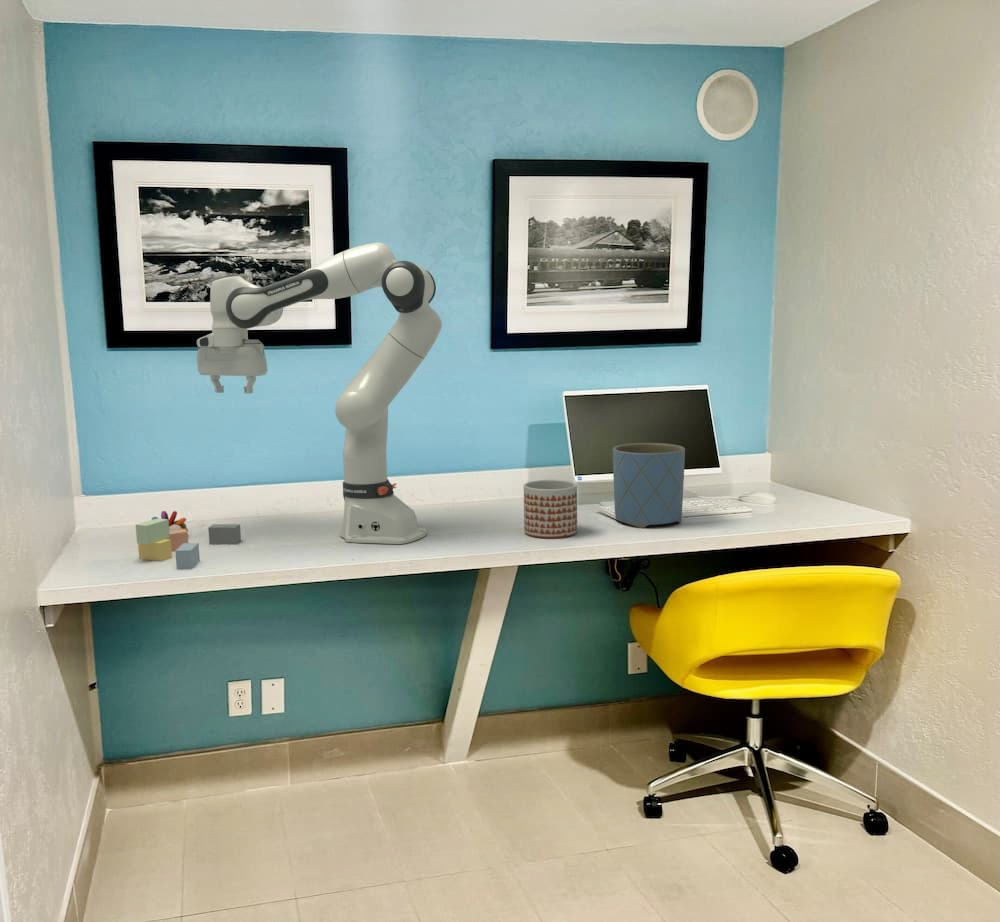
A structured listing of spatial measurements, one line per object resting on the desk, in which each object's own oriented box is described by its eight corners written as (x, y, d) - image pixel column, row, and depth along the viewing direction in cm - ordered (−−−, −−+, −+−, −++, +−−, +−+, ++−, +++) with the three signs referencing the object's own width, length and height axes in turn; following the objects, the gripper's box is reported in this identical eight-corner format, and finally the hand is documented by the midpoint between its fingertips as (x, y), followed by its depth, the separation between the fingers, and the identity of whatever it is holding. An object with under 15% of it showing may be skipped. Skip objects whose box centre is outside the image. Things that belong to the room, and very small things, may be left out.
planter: (636, 532, 245) (637, 455, 242) (599, 518, 263) (599, 446, 259) (698, 524, 253) (699, 449, 250) (658, 510, 270) (658, 440, 267)
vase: (529, 540, 239) (528, 490, 237) (520, 528, 253) (519, 480, 251) (582, 537, 242) (582, 488, 239) (570, 525, 255) (570, 478, 253)
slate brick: (184, 561, 226) (183, 543, 225) (199, 561, 226) (198, 542, 226) (176, 569, 219) (175, 550, 219) (192, 569, 220) (190, 550, 219)
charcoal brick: (241, 541, 245) (240, 524, 244) (236, 544, 241) (235, 527, 241) (214, 541, 245) (213, 524, 245) (209, 544, 242) (208, 527, 241)
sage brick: (158, 536, 233) (157, 518, 232) (169, 537, 231) (168, 519, 230) (137, 543, 226) (135, 524, 226) (148, 544, 225) (146, 525, 224)
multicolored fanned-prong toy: (185, 540, 247) (183, 513, 245) (146, 543, 245) (144, 515, 244) (190, 533, 255) (188, 506, 254) (152, 535, 253) (150, 508, 252)
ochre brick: (172, 557, 230) (170, 539, 229) (161, 561, 227) (160, 543, 226) (150, 555, 233) (148, 537, 232) (139, 558, 230) (137, 540, 229)
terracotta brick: (186, 546, 241) (184, 529, 240) (188, 549, 238) (187, 531, 237) (157, 550, 237) (155, 532, 237) (159, 553, 234) (157, 535, 234)
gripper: (270, 338, 246) (274, 392, 248) (208, 339, 254) (211, 391, 256) (255, 340, 240) (258, 394, 242) (191, 340, 248) (195, 393, 251)
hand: (234, 393), depth 249 cm, fingers open, 8 cm apart
